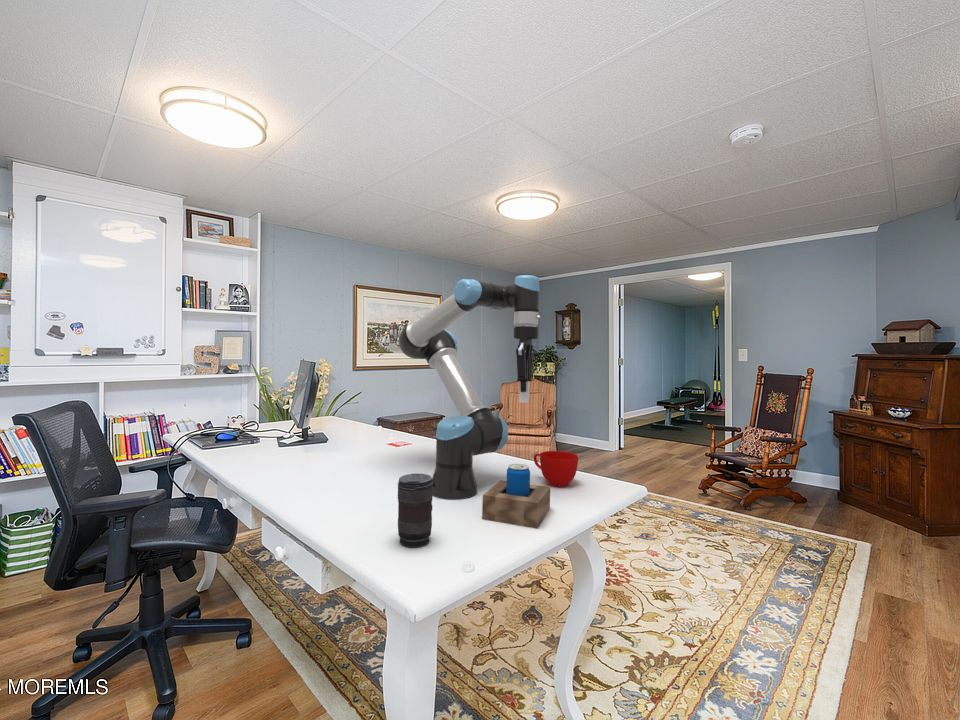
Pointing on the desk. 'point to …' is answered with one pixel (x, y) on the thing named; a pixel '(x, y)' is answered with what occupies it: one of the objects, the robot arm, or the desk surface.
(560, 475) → the ceramic cup
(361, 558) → the desk surface
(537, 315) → the robot arm
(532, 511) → the socket block
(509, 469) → the beverage can
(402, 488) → the camera lens
